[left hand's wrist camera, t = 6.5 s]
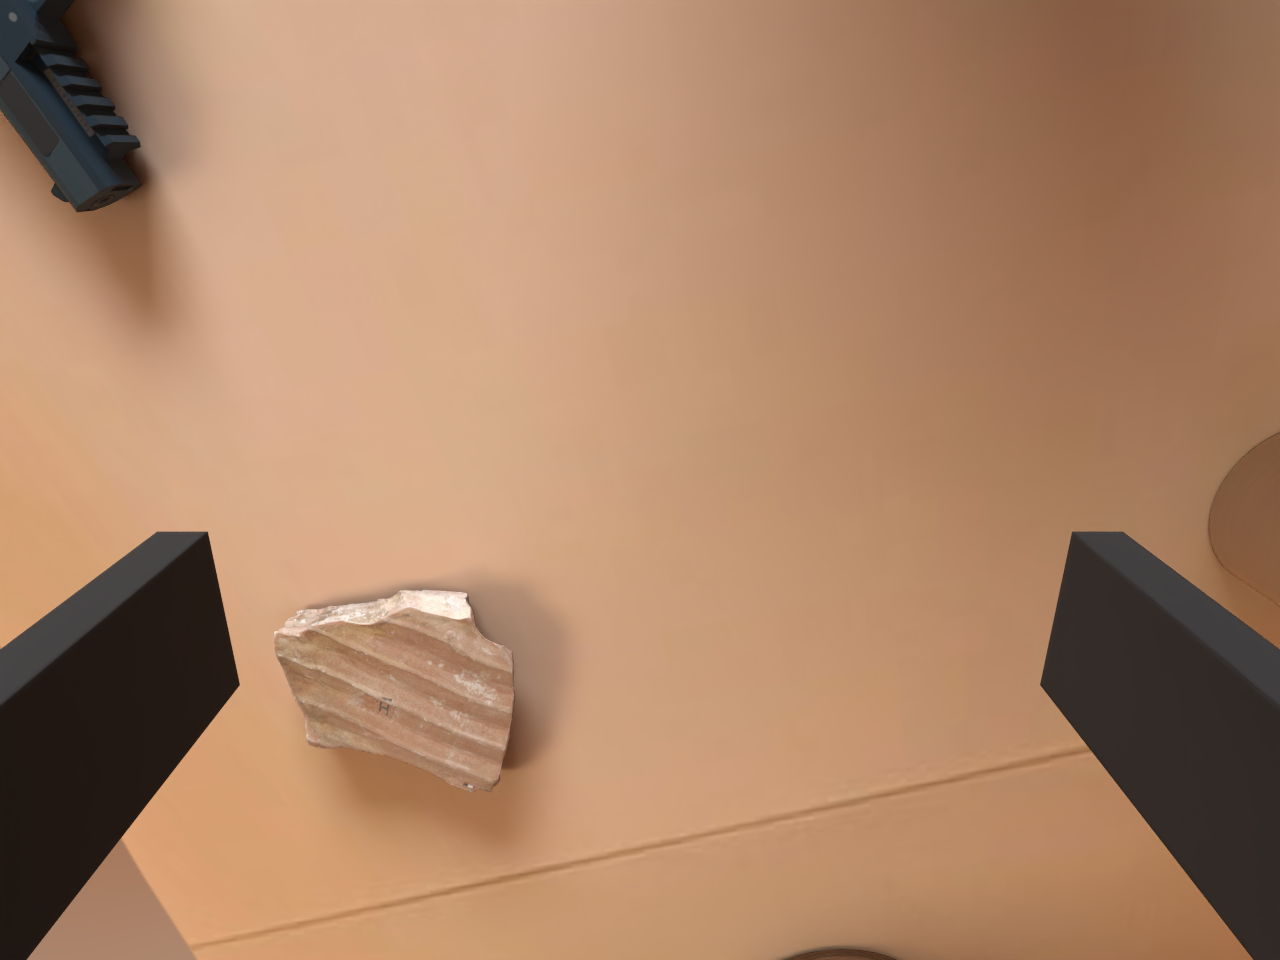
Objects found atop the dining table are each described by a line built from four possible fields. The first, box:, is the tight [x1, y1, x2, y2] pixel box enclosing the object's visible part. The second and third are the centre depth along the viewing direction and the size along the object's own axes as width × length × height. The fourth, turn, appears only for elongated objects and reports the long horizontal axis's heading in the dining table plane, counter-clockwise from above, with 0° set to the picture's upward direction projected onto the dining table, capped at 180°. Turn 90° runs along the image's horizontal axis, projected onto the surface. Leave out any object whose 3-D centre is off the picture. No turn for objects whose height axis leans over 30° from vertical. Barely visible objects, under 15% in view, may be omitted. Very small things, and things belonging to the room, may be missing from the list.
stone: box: [274, 590, 515, 792], centre depth 45 cm, size 13×12×3 cm
